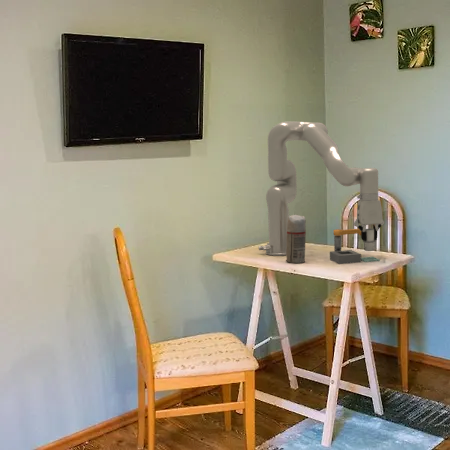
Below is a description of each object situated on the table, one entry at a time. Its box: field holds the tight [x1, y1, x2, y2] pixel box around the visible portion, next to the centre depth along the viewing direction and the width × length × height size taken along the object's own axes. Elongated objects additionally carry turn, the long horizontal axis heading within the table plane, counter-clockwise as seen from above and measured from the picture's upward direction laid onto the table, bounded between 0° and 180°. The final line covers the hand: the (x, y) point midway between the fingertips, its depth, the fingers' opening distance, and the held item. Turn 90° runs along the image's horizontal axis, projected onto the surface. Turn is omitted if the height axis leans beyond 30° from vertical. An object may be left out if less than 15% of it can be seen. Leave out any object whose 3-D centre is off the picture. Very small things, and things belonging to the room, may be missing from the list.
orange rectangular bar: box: [333, 228, 361, 236], centre depth 292 cm, size 14×4×3 cm, turn 107°
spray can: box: [285, 214, 307, 264], centre depth 284 cm, size 8×8×20 cm
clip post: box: [333, 235, 342, 251], centre depth 292 cm, size 5×5×10 cm
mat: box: [361, 256, 381, 263], centre depth 285 cm, size 7×7×1 cm
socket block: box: [329, 249, 362, 265], centre depth 284 cm, size 10×10×4 cm
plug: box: [362, 228, 377, 252], centre depth 283 cm, size 5×5×9 cm
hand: (369, 239), depth 283 cm, fingers closed on plug, 4 cm apart
